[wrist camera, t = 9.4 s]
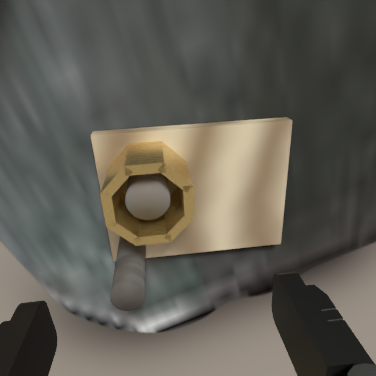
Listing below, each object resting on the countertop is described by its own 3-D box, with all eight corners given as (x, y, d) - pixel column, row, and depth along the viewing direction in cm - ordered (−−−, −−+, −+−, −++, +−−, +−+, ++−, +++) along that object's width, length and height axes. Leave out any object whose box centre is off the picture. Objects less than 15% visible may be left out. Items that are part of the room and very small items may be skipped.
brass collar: (184, 138, 25) (192, 160, 21) (188, 207, 28) (195, 239, 23) (105, 145, 25) (95, 168, 20) (116, 214, 27) (110, 248, 23)
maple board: (286, 117, 27) (339, 146, 19) (276, 236, 32) (315, 296, 24) (93, 131, 25) (69, 168, 18) (114, 253, 30) (103, 321, 23)
